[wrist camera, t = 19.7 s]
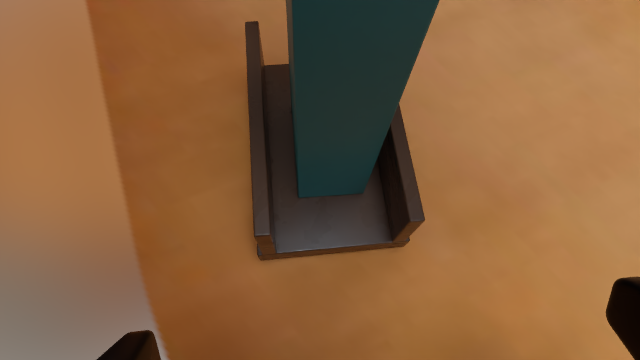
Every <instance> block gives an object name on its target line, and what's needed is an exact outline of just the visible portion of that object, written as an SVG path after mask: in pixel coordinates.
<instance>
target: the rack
mask: <svg viewBox="0 0 640 360" xmlns="http://www.w3.org/2000/svg"><path fill="white" fill-rule="evenodd" d="M245 33H246V57H247V81H248V104H249V128H250V152H251V175H252V199H253V223H254V237H255V239H256V241H257V255H258V257H259V259H260V260H269V259H279V258H289V257H299V256H309V255H320V254H330V253H340V252H350V251H360V250H370V249H380V248H390V247H400V246H405V245H406V244H407V243H408V242H409V241H410V239H409V236H410V235H411V234H412V233H413V232H414V231H415V230H416V229H417V228H418V227H419V226H420V225H421V224H422V223H423V222H424V221H425V217H424V213H423V208H422V204H421V199H420V195H419V190H418V186H417V182H416V177H415V173H414V168H413V164H412V159H411V155H410V150H409V146H408V141H407V137H406V133H405V128H404V124H403V119H402V115H401V110H400V106H399V104H398V107H397V109H396V112H395V114H394V117H393V119H392V122H391V124H390V127H389V129H388V132H387V134H386V137H385V140H384V142H383V145H382V147H381V150H380V152H379V155H378V157H377V160H376V162H375V165H374V167H373V170H372V173H371V175H370V178H369V180H368V183H367V185H366V188H365V190H364V193H360V194H346V195H332V196H317V197H303V198H298V193H297V179H296V165H295V152H294V138H293V125H292V111H291V93H290V73H289V64H282V65H265V66H264V60H263V52H262V45H261V38H260V30H259V23H258V21H254V22H245Z"/></svg>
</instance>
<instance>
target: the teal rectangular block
mask: <svg viewBox="0 0 640 360" xmlns="http://www.w3.org/2000/svg"><path fill="white" fill-rule="evenodd" d="M438 3H439V0H286V11H287V31H288V52H289V73H290V93H291V111H292V125H293V138H294V152H295V165H296V179H297V193H298V198H303V197H317V196H332V195H346V194H360V193H364V190H365V188H366V185H367V183H368V180H369V178H370V175H371V173H372V170H373V167H374V165H375V162H376V160H377V157H378V155H379V152H380V150H381V147H382V145H383V142H384V140H385V137H386V134H387V132H388V129H389V127H390V124H391V122H392V119H393V117H394V114H395V112H396V109H397V107H398V104H399V102H400V99H401V96H402V94H403V91H404V89H405V86H406V84H407V81H408V79H409V76H410V74H411V71H412V69H413V66H414V64H415V61H416V58H417V56H418V53H419V51H420V48H421V46H422V43H423V41H424V38H425V36H426V33H427V31H428V28H429V25H430V23H431V20H432V18H433V15H434V13H435V10H436V8H437V5H438Z"/></svg>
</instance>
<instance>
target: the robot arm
mask: <svg viewBox="0 0 640 360" xmlns="http://www.w3.org/2000/svg"><path fill="white" fill-rule="evenodd" d="M606 317H607V320H608V322H609V324H610V326H611V327H612V329H613V330H614V331H615V333H616V334H617V336H618V337H619V338H620V340H621V341H622V343H623V344H624V345H625V347H626V348H627V349H628V351H629V352H630V354H631V355H632V356H633V358H634V359H635V360H640V277H627V278H620V279H618V280H616V281H615V283H614V284H613V287H612V291H611V295H610V298H609V302H608V305H607V309H606ZM97 360H161V358H160V354H159V350H158V347H157V343H156V339H155V336H154V334H153V332H152V331H149V330H145V331H136V332H130V333H127V334H126V335H124V336H123V337H122V338H121V339H120V340H118V341H117V342H116V343H115V344H114V345H113V346H112V347H110V348H109V349H108V350H107V351H106V352H105V353H104V354H103V355H101V356H100V357H99V358H98V359H97Z"/></svg>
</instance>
